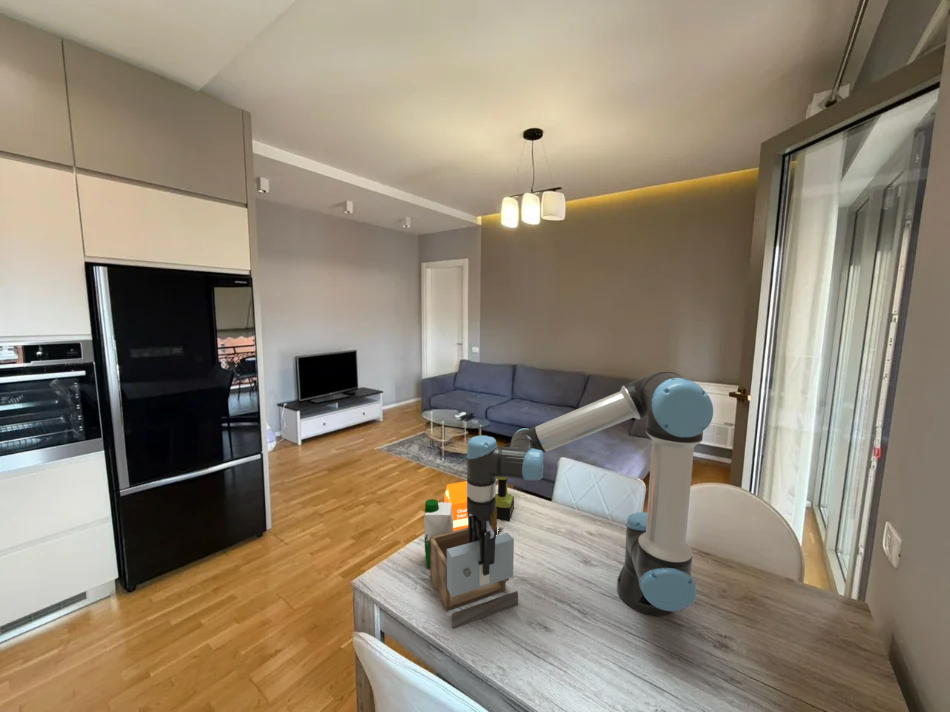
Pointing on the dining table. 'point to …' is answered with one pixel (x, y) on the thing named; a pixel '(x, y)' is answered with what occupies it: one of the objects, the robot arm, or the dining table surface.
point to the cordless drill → (504, 499)
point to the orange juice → (458, 504)
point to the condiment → (495, 522)
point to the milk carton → (436, 522)
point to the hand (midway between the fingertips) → (480, 578)
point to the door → (467, 567)
